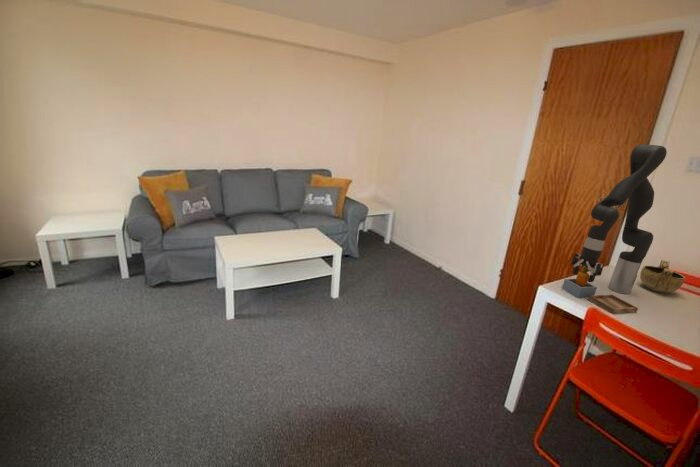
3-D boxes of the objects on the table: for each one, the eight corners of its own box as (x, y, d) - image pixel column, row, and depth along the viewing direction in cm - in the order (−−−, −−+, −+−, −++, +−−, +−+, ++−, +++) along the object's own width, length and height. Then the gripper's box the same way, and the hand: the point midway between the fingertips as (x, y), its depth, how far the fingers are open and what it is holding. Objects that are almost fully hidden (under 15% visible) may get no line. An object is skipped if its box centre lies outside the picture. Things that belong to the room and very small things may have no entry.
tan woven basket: (679, 303, 167) (691, 275, 162) (636, 290, 177) (646, 264, 172) (674, 289, 184) (686, 264, 179) (635, 278, 194) (645, 254, 189)
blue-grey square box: (576, 288, 172) (579, 278, 171) (593, 297, 164) (597, 287, 162) (561, 288, 170) (564, 278, 168) (578, 298, 161) (581, 287, 159)
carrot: (579, 291, 169) (589, 264, 164) (585, 296, 164) (595, 268, 160) (569, 290, 169) (578, 262, 165) (574, 294, 165) (584, 266, 160)
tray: (610, 298, 164) (612, 294, 163) (636, 312, 153) (638, 307, 152) (587, 299, 160) (589, 295, 159) (612, 314, 149) (614, 309, 148)
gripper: (613, 253, 154) (601, 284, 159) (585, 242, 167) (575, 271, 172) (600, 252, 152) (589, 284, 157) (574, 241, 165) (564, 271, 170)
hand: (582, 278), depth 164 cm, fingers open, 8 cm apart
